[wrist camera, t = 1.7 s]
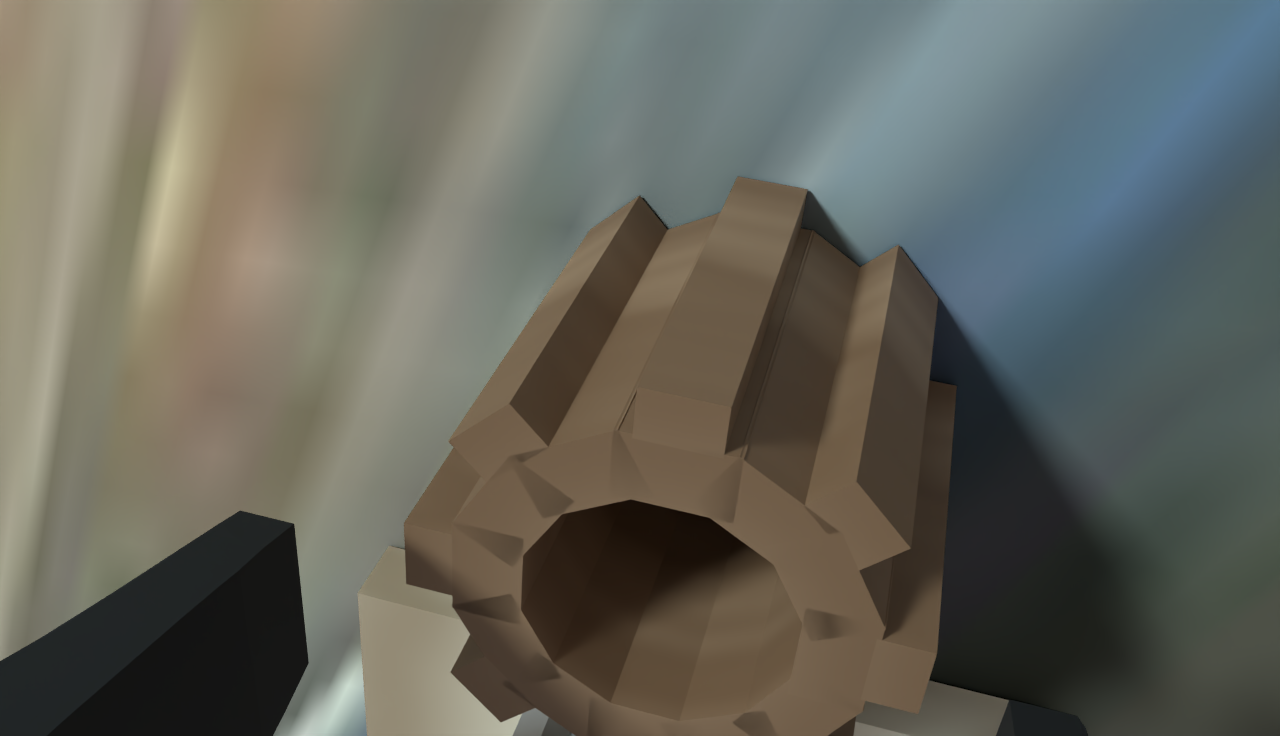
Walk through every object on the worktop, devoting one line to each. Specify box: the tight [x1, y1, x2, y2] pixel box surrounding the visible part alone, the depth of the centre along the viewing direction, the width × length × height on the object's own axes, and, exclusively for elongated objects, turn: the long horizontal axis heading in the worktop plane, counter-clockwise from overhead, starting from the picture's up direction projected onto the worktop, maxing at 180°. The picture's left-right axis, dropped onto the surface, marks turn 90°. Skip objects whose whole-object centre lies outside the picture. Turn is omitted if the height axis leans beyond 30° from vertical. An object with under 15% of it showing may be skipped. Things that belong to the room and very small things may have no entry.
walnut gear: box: [404, 177, 957, 736], centre depth 15 cm, size 6×6×5 cm
